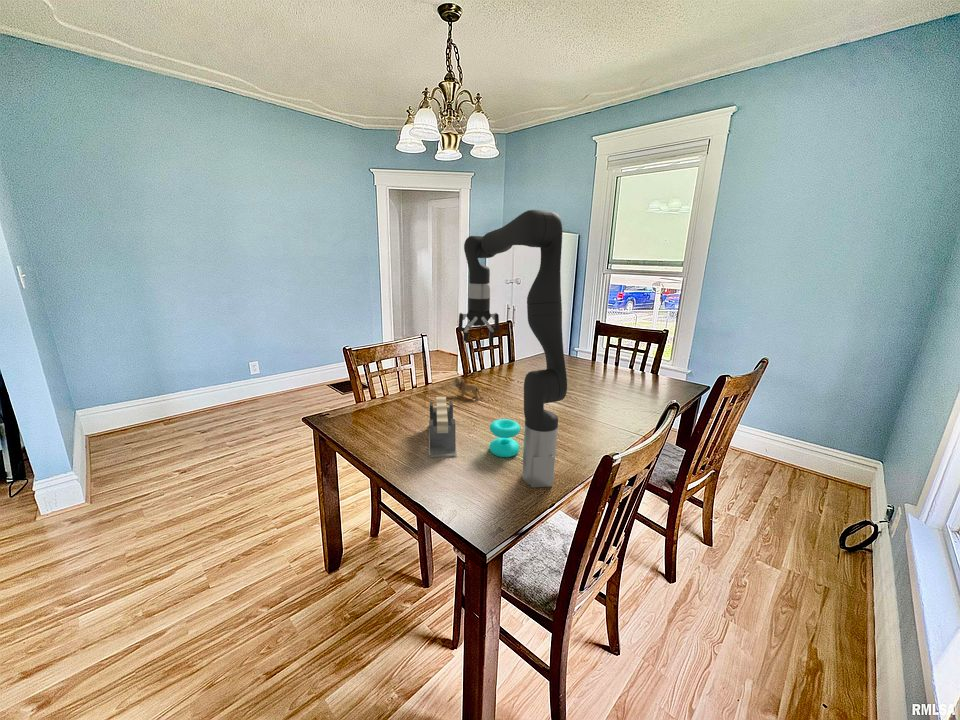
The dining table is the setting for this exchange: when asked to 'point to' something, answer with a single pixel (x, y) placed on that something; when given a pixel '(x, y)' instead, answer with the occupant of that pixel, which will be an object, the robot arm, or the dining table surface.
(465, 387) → the lion figurine
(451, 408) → the cradle bracket stand
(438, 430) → the birch rail
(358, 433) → the dining table surface
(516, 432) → the turquoise hourglass-shaped piece
